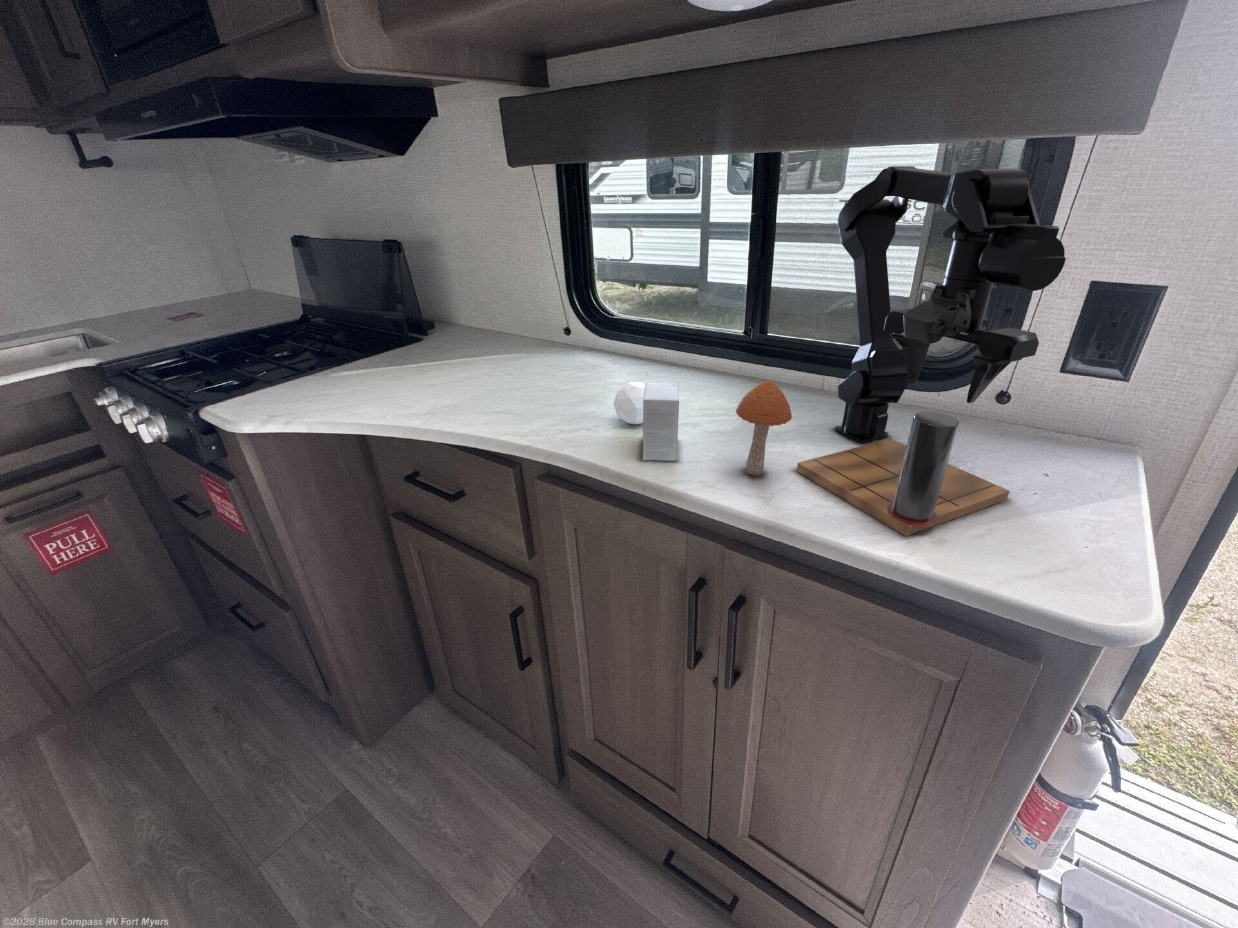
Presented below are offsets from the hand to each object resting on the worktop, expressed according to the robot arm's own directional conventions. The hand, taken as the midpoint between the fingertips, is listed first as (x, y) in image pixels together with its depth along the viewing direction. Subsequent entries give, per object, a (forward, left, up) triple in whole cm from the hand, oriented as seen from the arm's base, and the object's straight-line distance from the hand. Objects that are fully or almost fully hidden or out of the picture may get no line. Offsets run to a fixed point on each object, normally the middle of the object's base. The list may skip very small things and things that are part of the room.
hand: (939, 392), depth 80 cm
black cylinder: (+9, -13, -11) cm, 19 cm away
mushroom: (-11, -22, -13) cm, 28 cm away
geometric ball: (-38, -29, -13) cm, 50 cm away
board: (+1, -6, -13) cm, 14 cm away
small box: (-25, -31, -13) cm, 42 cm away
